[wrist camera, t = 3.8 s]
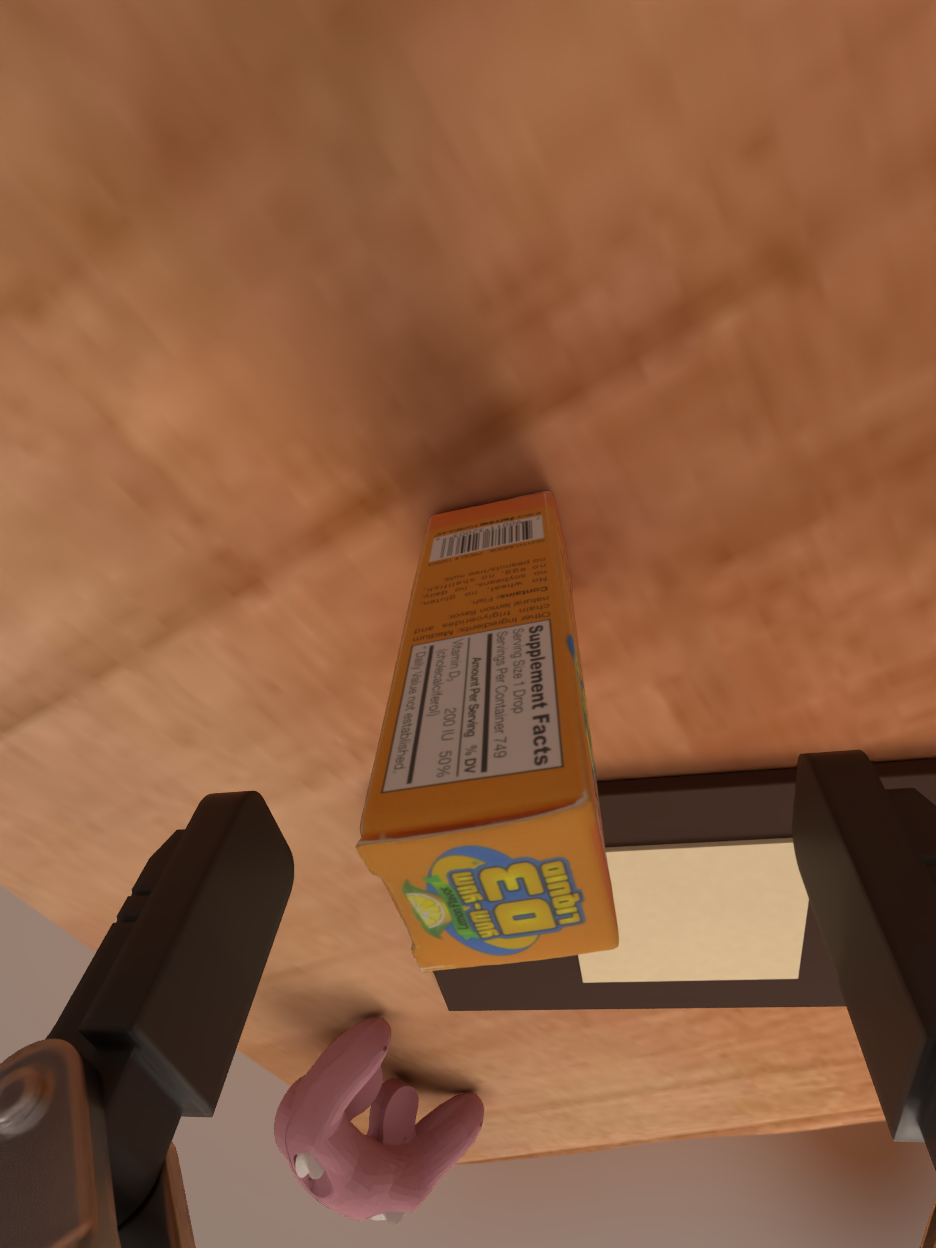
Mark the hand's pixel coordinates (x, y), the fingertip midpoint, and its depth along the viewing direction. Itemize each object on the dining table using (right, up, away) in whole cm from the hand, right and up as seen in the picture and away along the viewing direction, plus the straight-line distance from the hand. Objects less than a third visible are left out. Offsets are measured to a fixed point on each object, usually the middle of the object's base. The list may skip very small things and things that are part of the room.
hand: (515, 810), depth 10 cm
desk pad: (+7, -7, +15) cm, 18 cm away
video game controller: (-4, -19, +24) cm, 31 cm away
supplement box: (0, +5, +7) cm, 9 cm away
